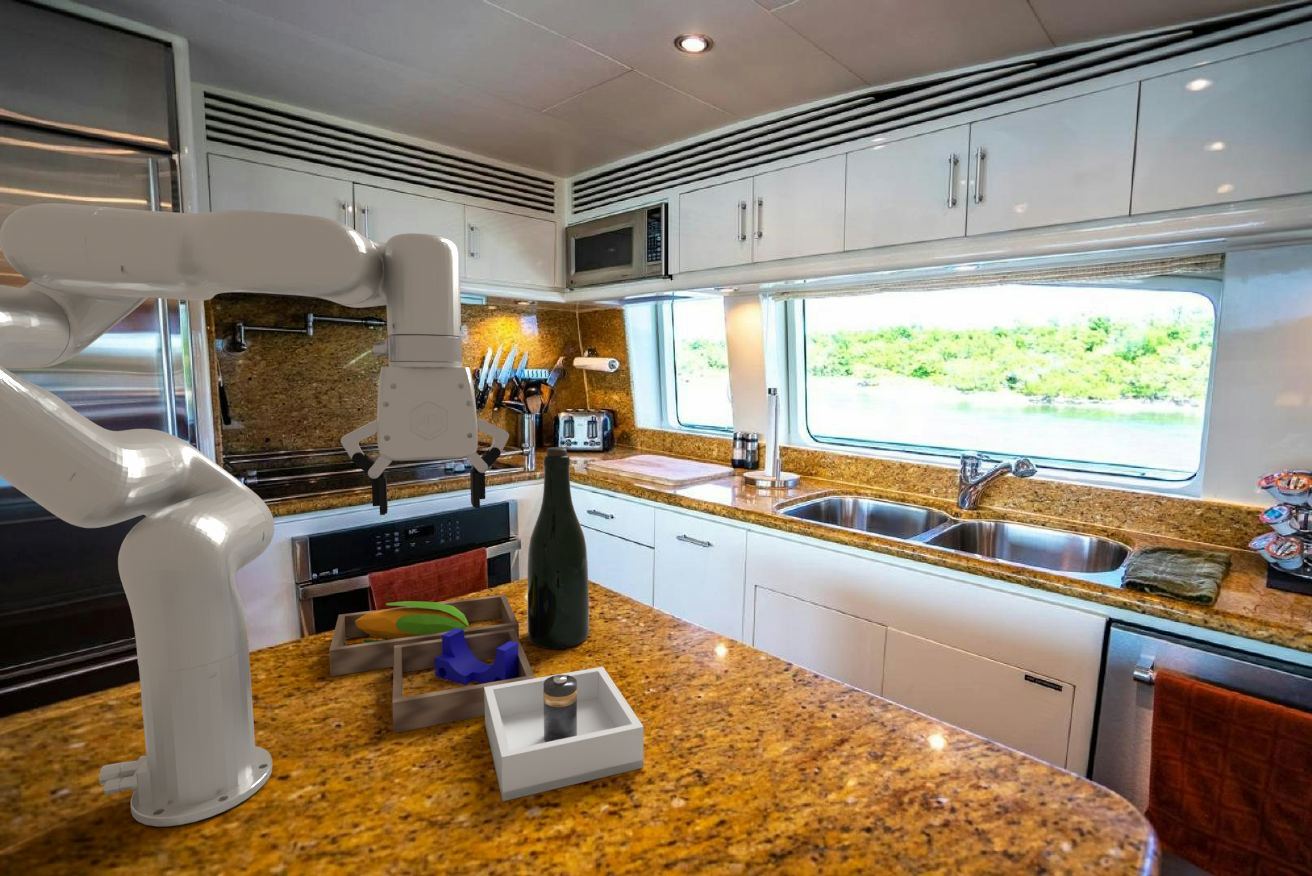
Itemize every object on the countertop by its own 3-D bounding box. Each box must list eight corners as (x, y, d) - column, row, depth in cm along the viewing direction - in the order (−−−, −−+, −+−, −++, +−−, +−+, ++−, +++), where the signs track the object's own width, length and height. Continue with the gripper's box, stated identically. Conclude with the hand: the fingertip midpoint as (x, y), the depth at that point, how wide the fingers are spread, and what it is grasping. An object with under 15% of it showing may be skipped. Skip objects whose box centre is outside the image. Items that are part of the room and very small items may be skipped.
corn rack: (330, 676, 95) (329, 650, 94) (339, 637, 109) (338, 614, 108) (519, 647, 105) (518, 624, 105) (505, 615, 119) (505, 594, 118)
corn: (457, 612, 100) (339, 605, 103) (457, 659, 100) (339, 651, 103) (476, 598, 108) (366, 593, 110) (475, 643, 108) (366, 636, 110)
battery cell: (550, 750, 75) (549, 688, 74) (538, 733, 78) (538, 674, 78) (582, 741, 77) (582, 681, 76) (570, 725, 80) (569, 667, 80)
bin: (502, 801, 67) (501, 757, 67) (484, 723, 82) (484, 687, 82) (643, 767, 73) (643, 726, 73) (603, 701, 88) (603, 666, 88)
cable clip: (435, 677, 95) (434, 638, 94) (457, 665, 99) (456, 627, 98) (498, 695, 90) (497, 654, 89) (518, 682, 94) (518, 643, 93)
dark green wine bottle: (541, 623, 115) (538, 443, 112) (596, 628, 113) (595, 444, 110) (517, 647, 105) (514, 450, 101) (578, 653, 103) (576, 452, 99)
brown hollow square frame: (393, 733, 80) (392, 703, 80) (395, 670, 97) (394, 645, 96) (535, 706, 87) (535, 678, 86) (514, 652, 103) (514, 628, 103)
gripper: (333, 351, 62) (341, 523, 64) (512, 354, 68) (514, 510, 70) (340, 353, 69) (347, 508, 71) (502, 356, 75) (504, 497, 77)
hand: (430, 509), depth 70 cm, fingers open, 9 cm apart
